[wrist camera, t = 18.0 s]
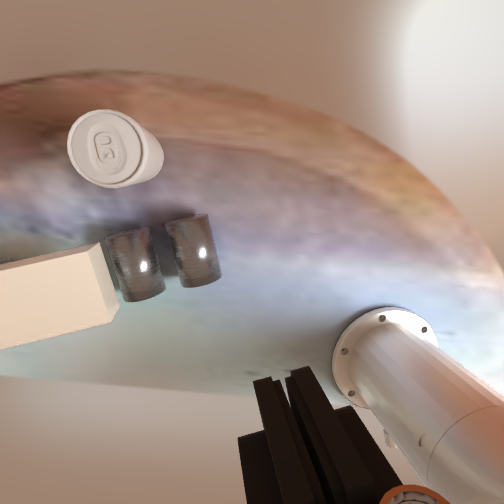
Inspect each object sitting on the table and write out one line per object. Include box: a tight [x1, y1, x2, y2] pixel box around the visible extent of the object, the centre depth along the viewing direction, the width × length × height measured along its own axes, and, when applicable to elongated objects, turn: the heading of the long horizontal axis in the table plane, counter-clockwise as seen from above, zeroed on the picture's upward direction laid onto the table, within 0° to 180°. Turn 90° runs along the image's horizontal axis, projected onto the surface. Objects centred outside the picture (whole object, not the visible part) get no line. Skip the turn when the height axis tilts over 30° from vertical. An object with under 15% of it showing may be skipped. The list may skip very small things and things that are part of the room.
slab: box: [0, 242, 120, 350], centre depth 29 cm, size 6×12×4 cm, turn 102°
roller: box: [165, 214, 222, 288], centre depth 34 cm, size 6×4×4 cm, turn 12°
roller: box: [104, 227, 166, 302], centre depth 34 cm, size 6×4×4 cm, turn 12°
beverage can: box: [67, 109, 164, 188], centre depth 28 cm, size 5×5×12 cm
